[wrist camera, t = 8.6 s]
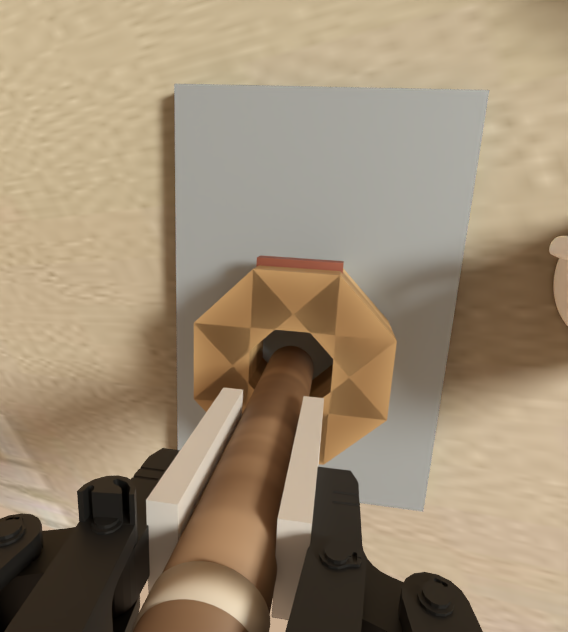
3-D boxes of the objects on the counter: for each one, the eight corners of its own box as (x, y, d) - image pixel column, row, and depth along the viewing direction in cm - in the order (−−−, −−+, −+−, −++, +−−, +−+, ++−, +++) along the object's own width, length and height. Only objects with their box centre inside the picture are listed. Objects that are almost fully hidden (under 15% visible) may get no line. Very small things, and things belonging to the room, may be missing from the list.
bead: (217, 249, 24) (193, 256, 20) (395, 261, 23) (405, 271, 19) (214, 420, 27) (193, 455, 23) (374, 438, 26) (379, 478, 22)
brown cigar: (268, 342, 22) (96, 640, 7) (316, 347, 22) (253, 670, 6) (266, 387, 23) (104, 756, 7) (313, 392, 22) (247, 787, 7)
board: (182, 89, 24) (174, 83, 22) (481, 96, 22) (489, 89, 21) (184, 467, 29) (178, 478, 28) (419, 498, 28) (423, 511, 26)
